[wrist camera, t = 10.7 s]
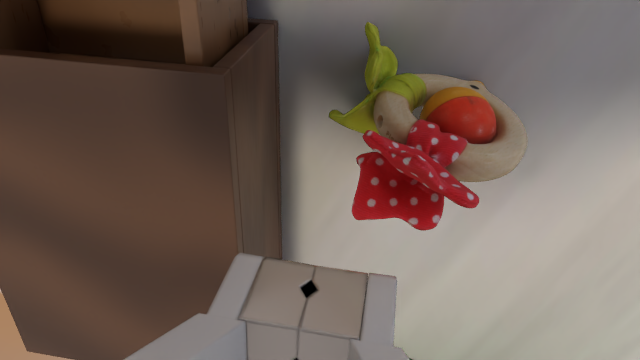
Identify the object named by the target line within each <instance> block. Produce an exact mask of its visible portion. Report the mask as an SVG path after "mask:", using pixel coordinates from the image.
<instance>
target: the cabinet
mask: <svg viewBox="0 0 640 360" xmlns="http://www.w3.org/2000/svg"><path fill="white" fill-rule="evenodd" d="M247 19H248V35H247V36H246V37H245V38H244V39H242V40H241V41H240V42H239V43H238V44H237V45H236V46H235V47H234V48H233V49H232V50H230V51H229V52H228V53H227V54H226V55H225V56H224V57H223V58H222V59H221V60H220V61H218V62H217V63H216V64H215V65H214V66H213V67H204V66H192V65H181V64H169V63H158V62H147V61H135V60H124V59H113V58H101V57H90V56H78V55H67V54H56V53H44V52H33V51H22V50H10V49H0V288H1V291H2V293H3V295H4V298H5V300H6V302H7V305H8V307H9V309H10V312H11V314H12V316H13V319H14V321H15V323H16V326H17V328H18V331H19V333H20V335H21V338H22V340H23V343H24V345H25V347H26V350H27V351H29V352H34V353H40V354H46V355H51V356H57V357H63V358H68V359H75V360H123V359H125V358H127V357H128V356H130V355H131V354H133V353H135V352H136V351H138V350H139V349H141V348H143V347H144V346H146V345H148V344H149V343H151V342H152V341H154V340H156V339H157V338H159V337H161V336H162V335H164V334H165V333H167V332H169V331H170V330H172V329H173V328H175V327H177V326H178V325H180V324H182V323H183V322H185V321H186V320H188V319H190V318H191V317H193V316H194V315H196V314H198V313H201V314H207V312H208V310H209V308H210V306H211V304H212V302H213V300H214V298H215V296H216V294H217V292H218V290H219V288H220V286H221V284H222V282H223V279H224V277H225V275H226V273H227V271H228V269H229V267H230V265H231V263H232V261H233V259H234V257H235V256H237V255H238V254H239V253H245V254H251V255H256V256H262V257H271V258H276V259H282V226H281V169H280V112H279V55H278V21H276V20H263V19H249V18H247Z"/></svg>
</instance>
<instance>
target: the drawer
mask: <svg viewBox="0 0 640 360" xmlns="http://www.w3.org/2000/svg"><path fill="white" fill-rule="evenodd" d="M247 35H248V19H247V0H0V49H10V50H22V51H33V52H44V53H56V54H67V55H78V56H90V57H101V58H113V59H124V60H135V61H147V62H158V63H169V64H181V65H192V66H204V67H213V66H214V65H215V64H216V63H217V62H218V61H220V60H221V59H222V58H223V57H224V56H225V55H226V54H227V53H228V52H229V51H230V50H232V49H233V48H234V47H235V46H236V45H237V44H238V43H239V42H240V41H241V40H242V39H244V38H245V37H246V36H247Z"/></svg>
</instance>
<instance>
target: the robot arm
mask: <svg viewBox="0 0 640 360" xmlns="http://www.w3.org/2000/svg"><path fill="white" fill-rule="evenodd" d="M367 280H368V281H367ZM366 288H367V289H366ZM396 291H397V279H396V277H395V276H389V275H381V274H374V273H369V276H368V273H363V272H357V271H350V270H343V269H336V268H329V267H323V266H316V265H310V264H304V263H299V262H293V261H288V260H282V259H276V258H271V257H262V256H256V255H251V254H245V253H239V254H238V255H237V256H235V257H234V259H233V261H232V263H231V265H230V267H229V269H228V271H227V273H226V275H225V277H224V279H223V282H222V284H221V286H220V288H219V290H218V292H217V294H216V296H215V298H214V300H213V302H212V304H211V306H210V308H209V310H208V312H207V314H201V313H198V314H196V315H194V316H193V317H191V318H190V319H188V320H186V321H185V322H183V323H182V324H180V325H178V326H177V327H175V328H173V329H172V330H170V331H169V332H167V333H165V334H164V335H162V336H161V337H159V338H157V339H156V340H154V341H152V342H151V343H149V344H148V345H146V346H144V347H143V348H141V349H139V350H138V351H136V352H135V353H133V354H131V355H130V356H128V357H127V358H125V359H123V360H409V358H408V357H407V355H406V353H405V352H404V350H403V349H402V348H399V347H394V346H393V343H394V326H395V308H396ZM365 295H366V296H365ZM364 303H365V304H364ZM363 310H364V311H363Z"/></svg>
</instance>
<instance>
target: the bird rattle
mask: <svg viewBox="0 0 640 360" xmlns="http://www.w3.org/2000/svg"><path fill="white" fill-rule="evenodd" d="M365 33H366V36H367V39H368V42H369V46H370V50H369V57H368V61H367V65H366V69H365V81H366V85H367V88H368V90H369V91H370V93H369V94H368V95H367V96H366V97H365V99H364V100H363V101H362V102H361V103H360V104H358V105H357V106H356V107H354V108H353V109H352V110H350V111H349V112H347V113H346V114H342V113H341V112H339V111H338V110H332V111H331V112H330V113H329V117H330V118H331V119H333V120H334V121H336V122H338V123H339V124H341V125H343V126H345V127H347V128H349V129H352V130H355V131H358V132H360V133H364V135H363V139H364V141H365V142H366V143H367V145H368V146H369V147H371V148H372V149H373V150H375V151H377V152H370V153H365V154H361V155H359V156H358V157H357V158H356V159H357V164H358V165H359V166H360V168H361V171H360V178H359V182H358V187H357V191H356V194H355V197H354V201H353V206H352V214H353V216H354V218H355V219H356V220H373V219H386V218H394V217H395V218H400V219H403V220H404V221H406V222H408V223H409V224H410V225H411V226H413V227H414V228H416V229H418V230H429V229H433V228H434V227H436V226H437V224H438V222H439V220H440V219H441V216H442V212H443V206H444V196H445V197H447V198H448V199H450V200H451V201H453V202H454V203H456V204H458V205H460V206H463V207H466V208H475V207H476V206H477V205H478V203H479V198H478V196H477V195H476V194H474V193H473V192H472V191H471V190H470V189H468V188H467V187H466V186H464V185H463V184H461V183H460V182H459V181H464V182H481V181H488V180H493V179H496V178H499V177H502V176H504V175H506V174H508V173H509V172H511V171H512V170H513V169H514V168H515V167H516V166H517V165H518V163H519V162H520V160H521V159H522V157H523V155H524V153H525V151H526V148H527V133H526V130H525V128H524V126H523V124H522V122H521V120H520V119H519V118H518V116H517V115H516V114H515V113H514V112H513V111H512V110H511V109H510V108H509V107H508V106H507V105H506V104H505V103H504V102H502V101H501V100H500V99H498V98H497V97H495V96H494V95H492V94H491V93H490V92H488V91H487V89H486V88H485V86H484V85H483V83H482V82H480V81H466V80H461V79H457V78H453V77H449V76H443V75H436V74H411V73H404V74H401V75H396V73H397V67H398V62H397V59H396V56H395V55H394V53H393V52H392V51H391V50H390V48H388V47H386V46H381V45H380V38H379V31H378V28H377V27H376V26H375V25H373V24H371V23H369V22H367V23H366V25H365ZM419 106H424V107H423V109H422V111H421V114H420V118H419V120H417V119H416V118H415V117H414V116H413V114H412V113H413V110H414V109H415V108H417V107H419ZM379 134H380V135H381V136H380V135H379Z"/></svg>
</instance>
